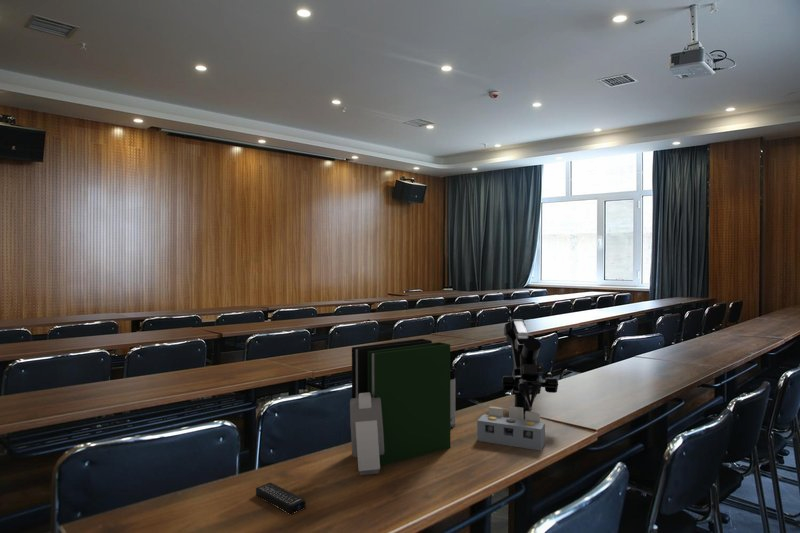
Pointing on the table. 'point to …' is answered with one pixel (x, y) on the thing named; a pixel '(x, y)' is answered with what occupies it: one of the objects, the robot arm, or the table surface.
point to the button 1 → (494, 414)
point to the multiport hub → (280, 497)
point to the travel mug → (452, 397)
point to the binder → (407, 394)
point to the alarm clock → (367, 432)
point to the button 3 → (532, 417)
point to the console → (511, 432)
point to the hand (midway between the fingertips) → (530, 406)
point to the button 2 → (515, 413)
